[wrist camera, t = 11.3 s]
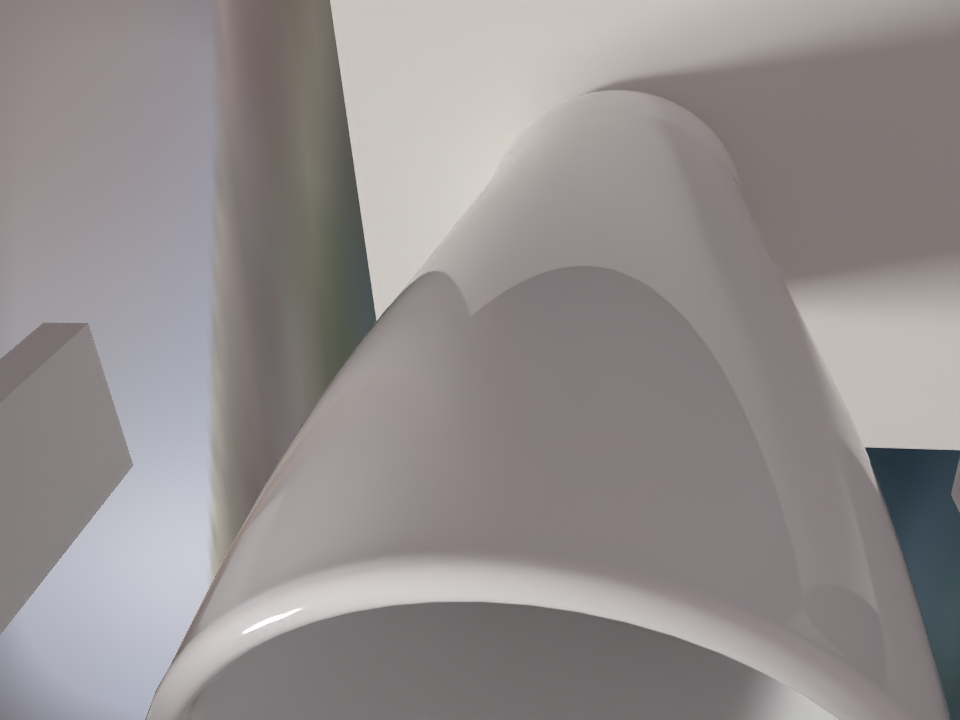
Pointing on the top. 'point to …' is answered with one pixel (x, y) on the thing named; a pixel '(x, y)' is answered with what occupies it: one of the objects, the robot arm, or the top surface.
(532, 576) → the white cup
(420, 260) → the rubber mat
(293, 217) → the top surface
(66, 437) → the robot arm
